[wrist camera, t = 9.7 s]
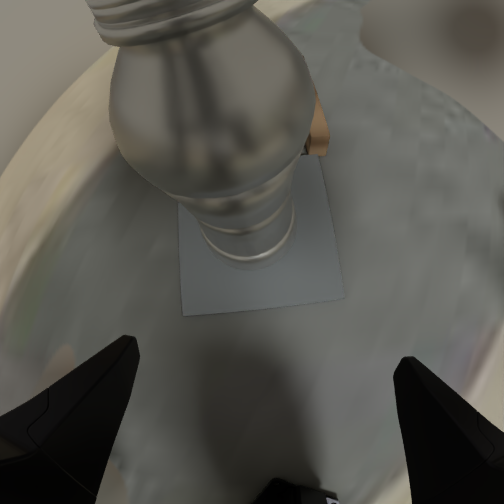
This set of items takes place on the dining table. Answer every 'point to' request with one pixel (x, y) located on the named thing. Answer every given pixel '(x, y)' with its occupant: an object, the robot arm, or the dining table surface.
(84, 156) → the dining table surface
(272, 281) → the felt coaster
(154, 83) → the plastic bottle
